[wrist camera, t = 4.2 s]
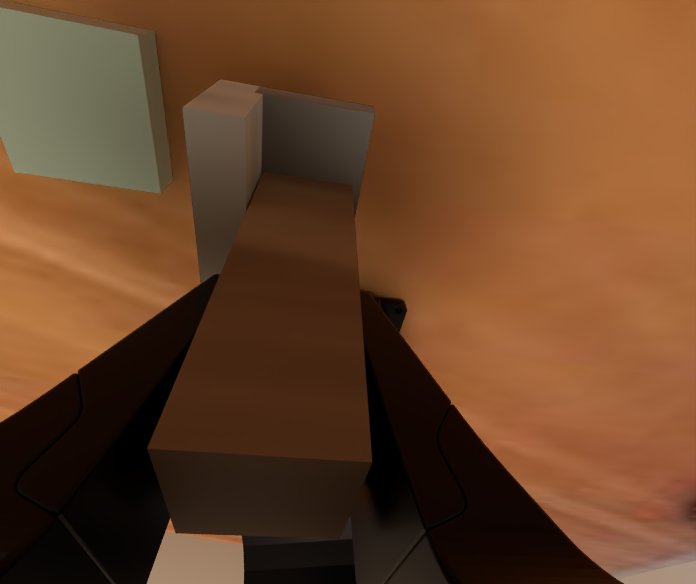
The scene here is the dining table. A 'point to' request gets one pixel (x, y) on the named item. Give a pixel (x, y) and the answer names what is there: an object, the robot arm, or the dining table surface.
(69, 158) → the tile
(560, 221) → the dining table surface
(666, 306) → the dining table surface
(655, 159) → the dining table surface
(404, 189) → the dining table surface
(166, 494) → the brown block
